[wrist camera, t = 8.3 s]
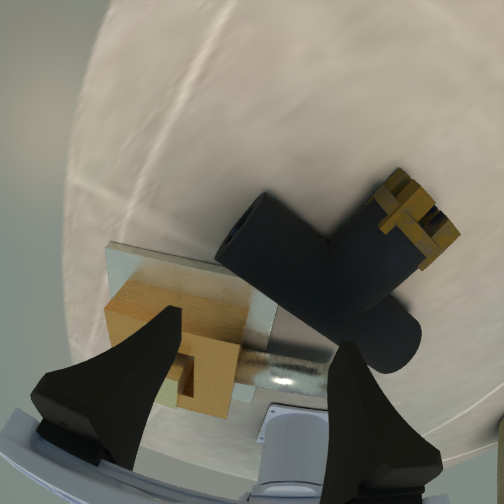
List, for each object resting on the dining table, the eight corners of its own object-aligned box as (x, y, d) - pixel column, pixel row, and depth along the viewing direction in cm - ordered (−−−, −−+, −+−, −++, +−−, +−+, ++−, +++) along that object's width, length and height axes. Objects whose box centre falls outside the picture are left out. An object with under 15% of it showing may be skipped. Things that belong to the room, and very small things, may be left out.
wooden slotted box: (308, 404, 30) (306, 444, 25) (127, 362, 31) (109, 395, 26) (360, 293, 22) (370, 339, 18) (110, 241, 23) (76, 273, 19)
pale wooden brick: (198, 349, 28) (176, 409, 22) (173, 341, 28) (146, 399, 22) (203, 319, 26) (177, 381, 20) (176, 310, 26) (144, 370, 20)
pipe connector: (344, 110, 12) (500, 291, 15) (333, 106, 17) (470, 251, 20) (204, 275, 18) (375, 386, 20) (226, 235, 22) (368, 338, 25)
